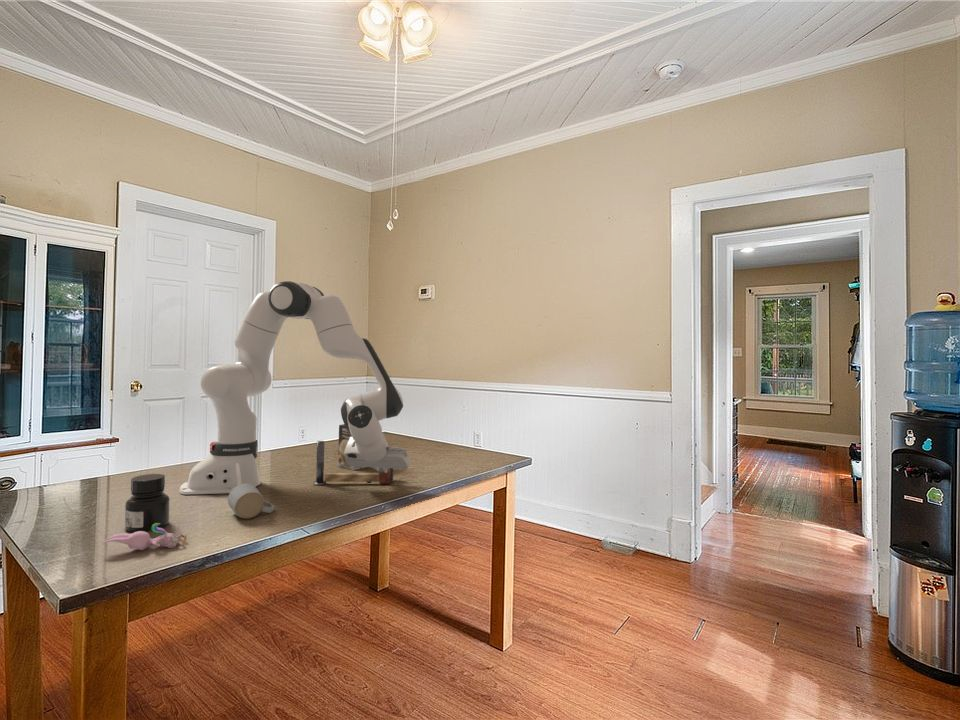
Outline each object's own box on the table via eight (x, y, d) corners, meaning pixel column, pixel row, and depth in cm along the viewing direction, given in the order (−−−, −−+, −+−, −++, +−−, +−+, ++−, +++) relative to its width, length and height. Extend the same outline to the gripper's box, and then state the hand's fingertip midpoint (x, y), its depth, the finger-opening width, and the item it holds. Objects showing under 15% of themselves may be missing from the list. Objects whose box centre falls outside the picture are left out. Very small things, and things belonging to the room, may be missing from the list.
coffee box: (336, 467, 180) (337, 424, 180) (349, 463, 186) (350, 422, 185) (353, 470, 175) (354, 427, 175) (366, 467, 181) (367, 425, 181)
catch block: (377, 481, 162) (378, 466, 162) (378, 479, 164) (378, 465, 164) (392, 481, 162) (393, 466, 162) (392, 479, 165) (393, 465, 165)
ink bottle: (121, 524, 117) (122, 476, 117) (164, 516, 123) (164, 470, 123) (128, 536, 110) (129, 484, 110) (173, 527, 117) (174, 478, 116)
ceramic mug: (234, 522, 121) (235, 492, 120) (227, 513, 127) (228, 485, 127) (278, 515, 127) (279, 486, 127) (269, 507, 134) (270, 479, 134)
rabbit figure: (185, 545, 110) (106, 543, 104) (191, 519, 110) (112, 516, 104) (181, 556, 104) (97, 555, 98) (187, 529, 104) (103, 526, 98)
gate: (323, 484, 155) (324, 451, 155) (325, 481, 159) (326, 449, 159) (389, 484, 158) (390, 452, 158) (390, 481, 161) (391, 449, 161)
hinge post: (313, 486, 154) (314, 442, 154) (312, 482, 158) (313, 440, 158) (326, 485, 156) (327, 442, 156) (325, 481, 160) (326, 440, 159)
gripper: (407, 440, 148) (415, 464, 158) (345, 436, 151) (356, 461, 160) (403, 457, 143) (411, 481, 153) (338, 453, 146) (350, 477, 156)
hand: (382, 471), depth 157 cm, fingers closed, pressing on gate
